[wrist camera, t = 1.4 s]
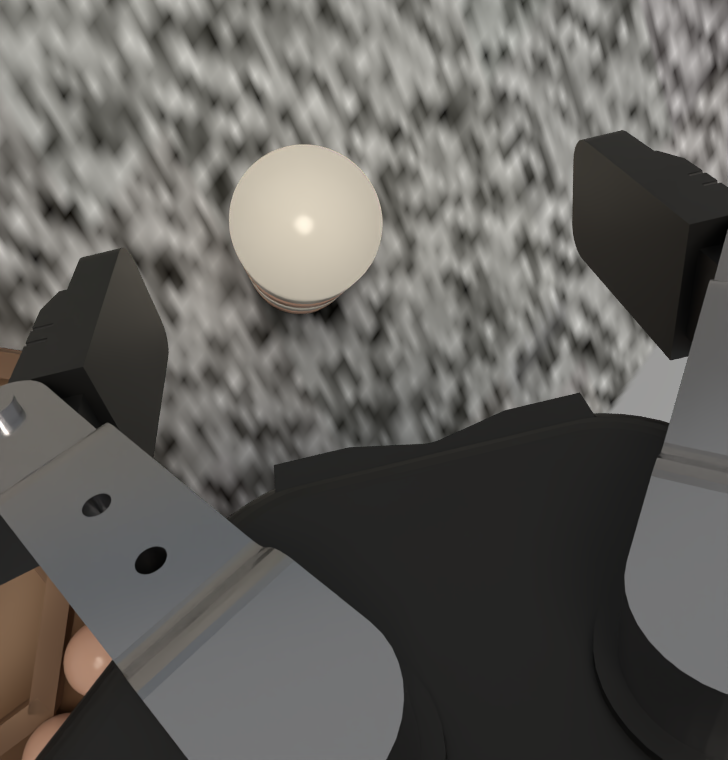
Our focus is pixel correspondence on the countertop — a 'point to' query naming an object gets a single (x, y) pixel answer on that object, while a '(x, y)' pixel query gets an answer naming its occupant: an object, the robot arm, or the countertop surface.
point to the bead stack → (304, 226)
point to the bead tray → (32, 644)
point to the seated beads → (72, 683)
